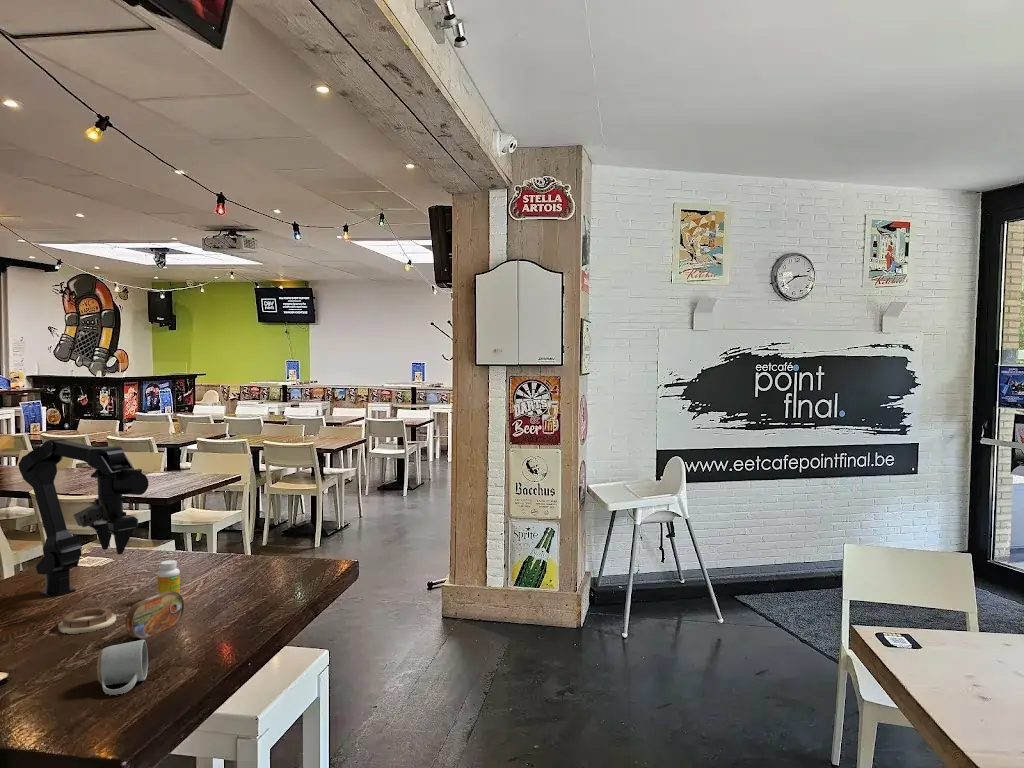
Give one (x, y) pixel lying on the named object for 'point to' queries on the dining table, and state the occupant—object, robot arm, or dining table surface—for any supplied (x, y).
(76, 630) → the collar stand
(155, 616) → the tin
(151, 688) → the dining table surface
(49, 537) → the robot arm
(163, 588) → the supplement bottle
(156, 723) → the dining table surface
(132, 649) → the ceramic mug
